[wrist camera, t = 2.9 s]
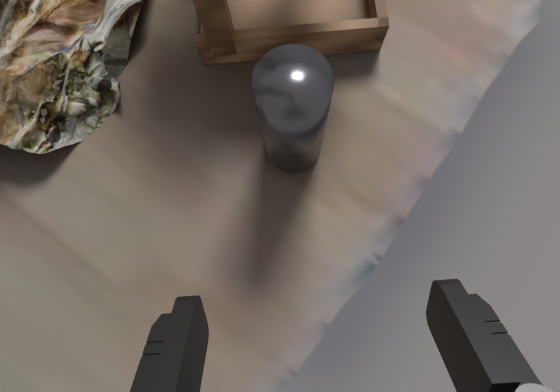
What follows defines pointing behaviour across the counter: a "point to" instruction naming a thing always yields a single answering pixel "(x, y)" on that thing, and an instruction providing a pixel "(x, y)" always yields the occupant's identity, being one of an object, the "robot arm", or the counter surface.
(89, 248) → the counter surface
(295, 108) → the cylinder
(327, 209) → the counter surface
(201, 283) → the counter surface
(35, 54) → the rock
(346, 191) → the counter surface
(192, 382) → the robot arm
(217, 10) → the stand
